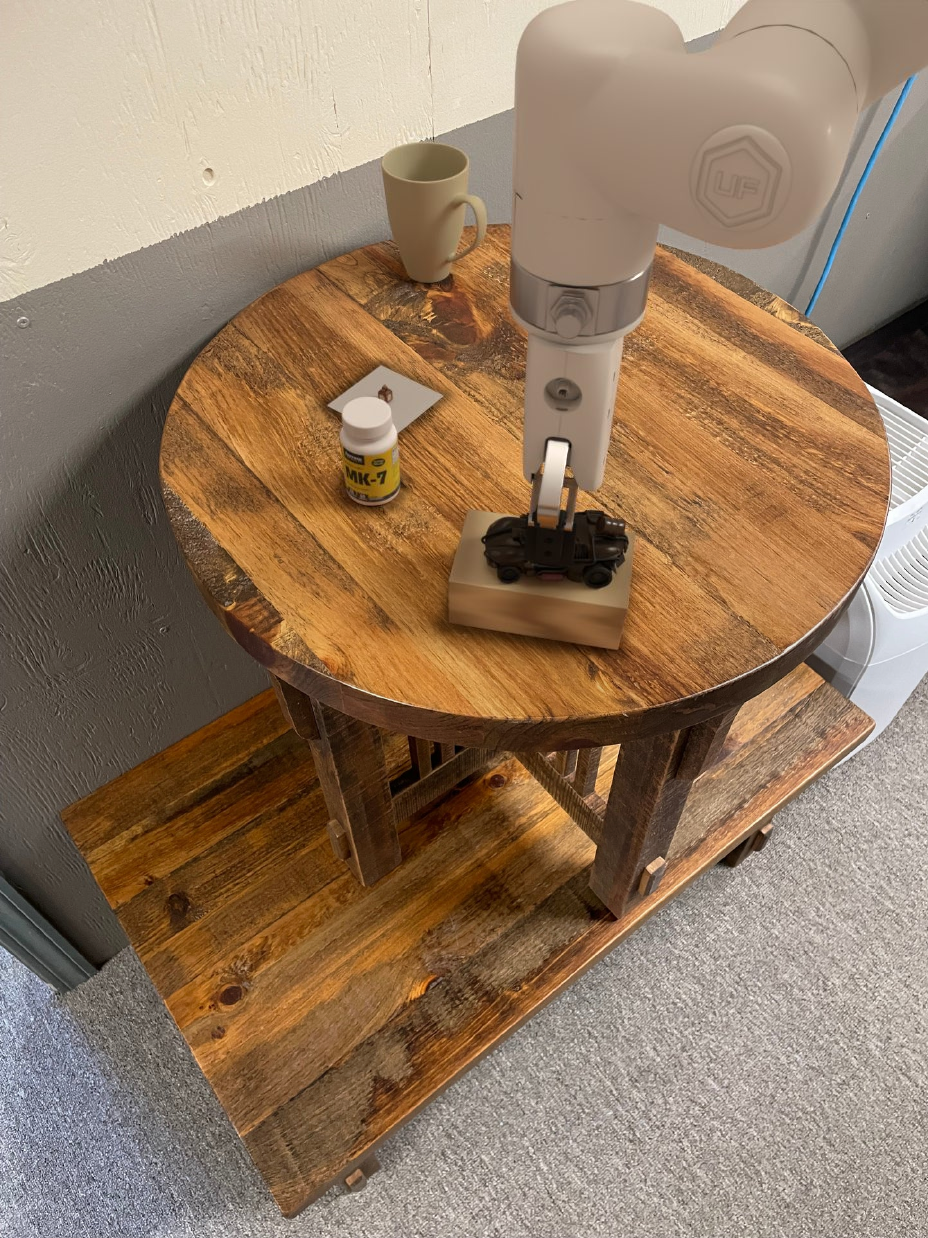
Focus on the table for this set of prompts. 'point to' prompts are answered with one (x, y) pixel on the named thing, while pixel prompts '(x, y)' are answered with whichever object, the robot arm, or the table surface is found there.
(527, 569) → the toy car
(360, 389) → the gray square plate
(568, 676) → the table surface
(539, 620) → the birch block
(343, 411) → the supplement bottle
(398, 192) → the mug
